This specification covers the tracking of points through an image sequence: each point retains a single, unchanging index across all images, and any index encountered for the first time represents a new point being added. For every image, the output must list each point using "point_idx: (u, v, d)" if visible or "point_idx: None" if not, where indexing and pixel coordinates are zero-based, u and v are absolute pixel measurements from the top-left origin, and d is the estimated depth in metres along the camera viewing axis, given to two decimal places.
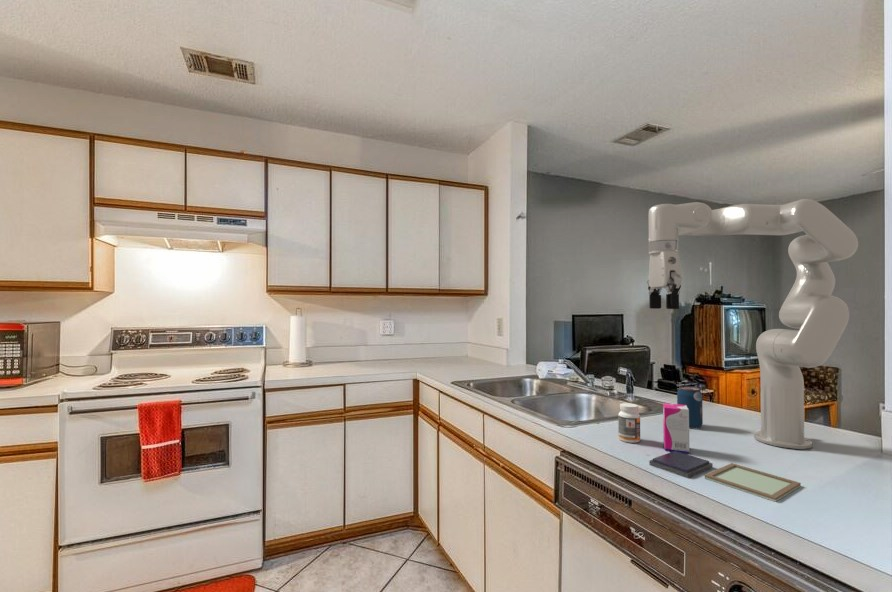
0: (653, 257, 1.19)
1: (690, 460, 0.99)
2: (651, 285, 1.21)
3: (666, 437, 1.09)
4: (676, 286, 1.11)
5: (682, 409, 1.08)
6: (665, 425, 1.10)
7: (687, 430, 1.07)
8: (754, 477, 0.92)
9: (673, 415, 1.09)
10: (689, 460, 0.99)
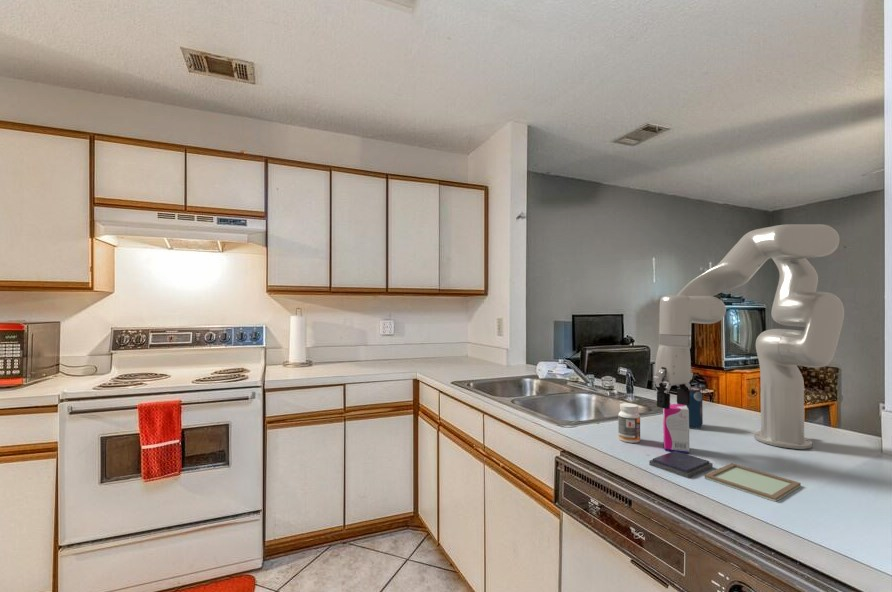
0: (682, 352, 1.09)
1: (690, 460, 0.99)
2: (675, 382, 1.08)
3: (666, 437, 1.09)
4: None
5: (682, 409, 1.08)
6: (665, 425, 1.10)
7: (687, 430, 1.07)
8: (754, 477, 0.92)
9: (673, 415, 1.09)
10: (689, 460, 0.99)
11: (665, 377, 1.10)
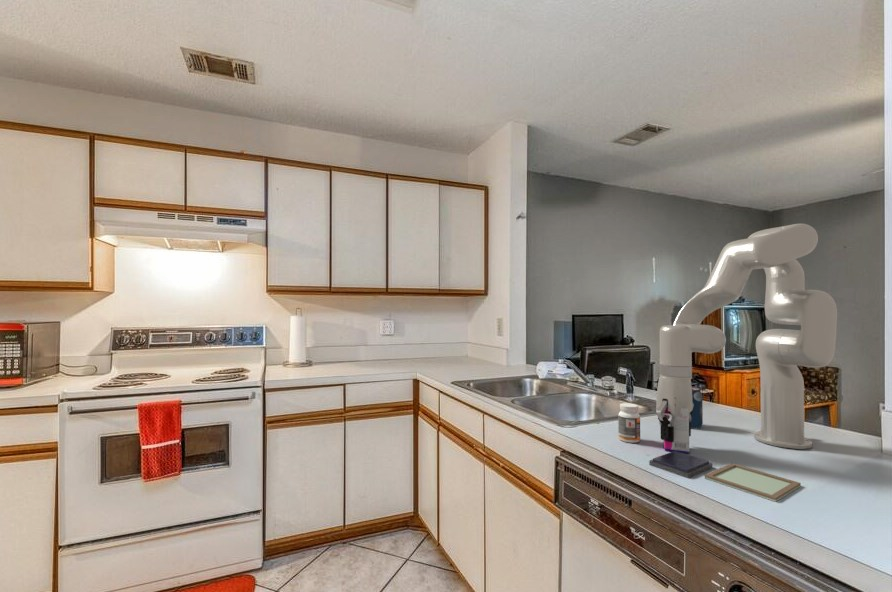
0: (683, 383, 1.09)
1: (690, 460, 0.99)
2: (677, 414, 1.08)
3: None
4: None
5: (682, 409, 1.08)
6: None
7: (687, 430, 1.07)
8: (754, 477, 0.92)
9: None
10: (689, 460, 0.99)
11: None
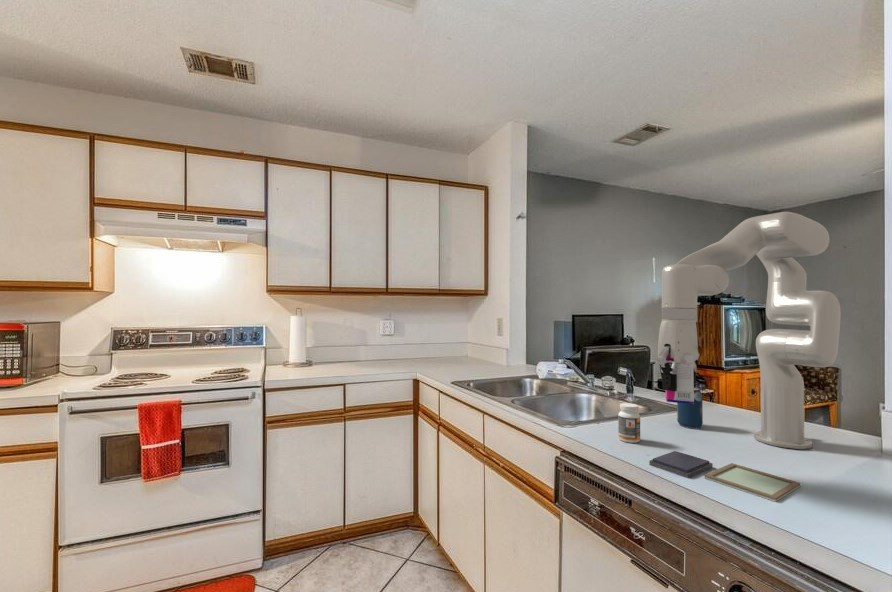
0: (688, 326, 0.98)
1: (690, 460, 0.99)
2: (681, 360, 0.98)
3: None
4: None
5: (686, 355, 0.98)
6: None
7: (691, 378, 0.97)
8: (754, 477, 0.92)
9: None
10: (689, 460, 0.99)
11: None
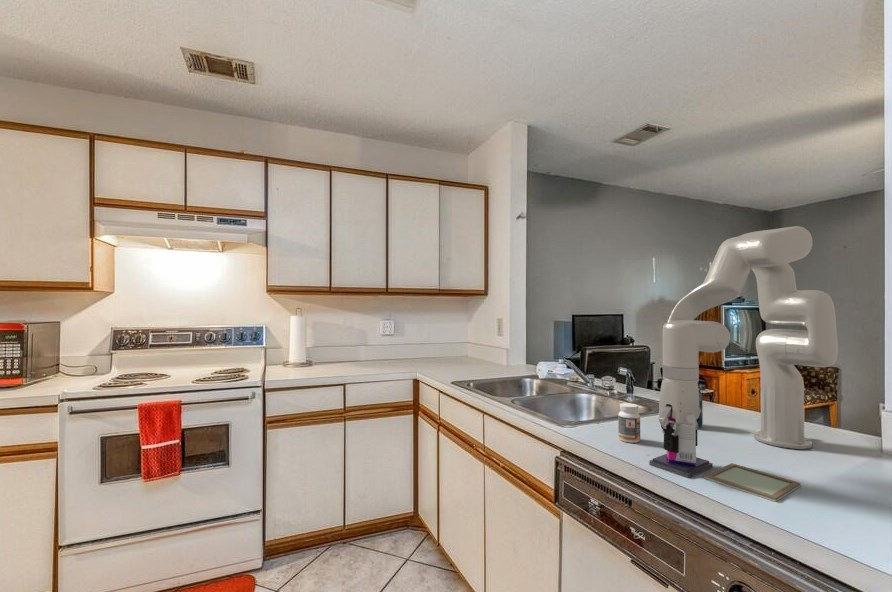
0: (689, 386, 0.97)
1: None
2: (683, 421, 0.96)
3: None
4: None
5: (688, 415, 0.96)
6: None
7: (693, 439, 0.96)
8: (754, 477, 0.92)
9: None
10: None
11: None
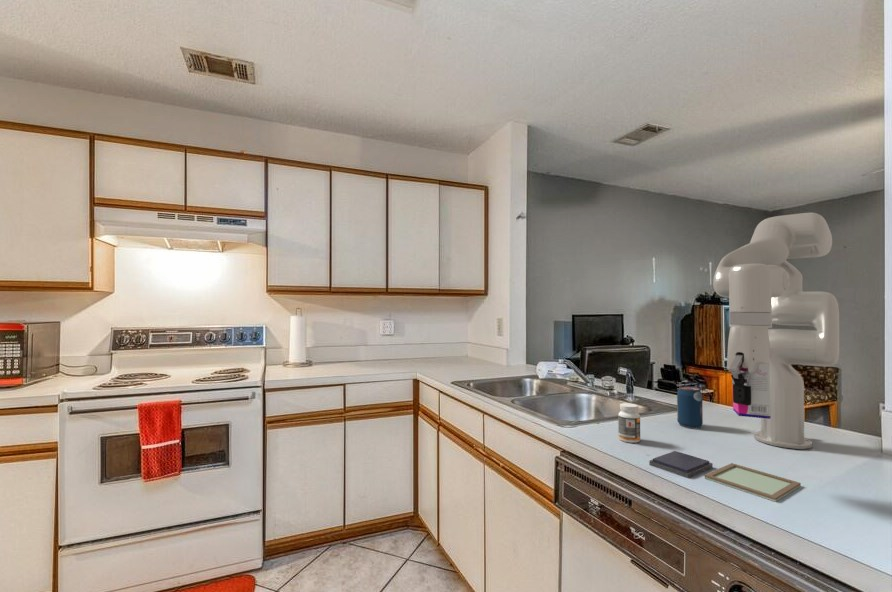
0: (762, 333, 0.88)
1: (690, 460, 0.99)
2: (755, 370, 0.87)
3: None
4: None
5: (760, 364, 0.88)
6: None
7: (767, 390, 0.87)
8: (754, 477, 0.92)
9: None
10: (689, 460, 0.99)
11: (741, 364, 0.89)
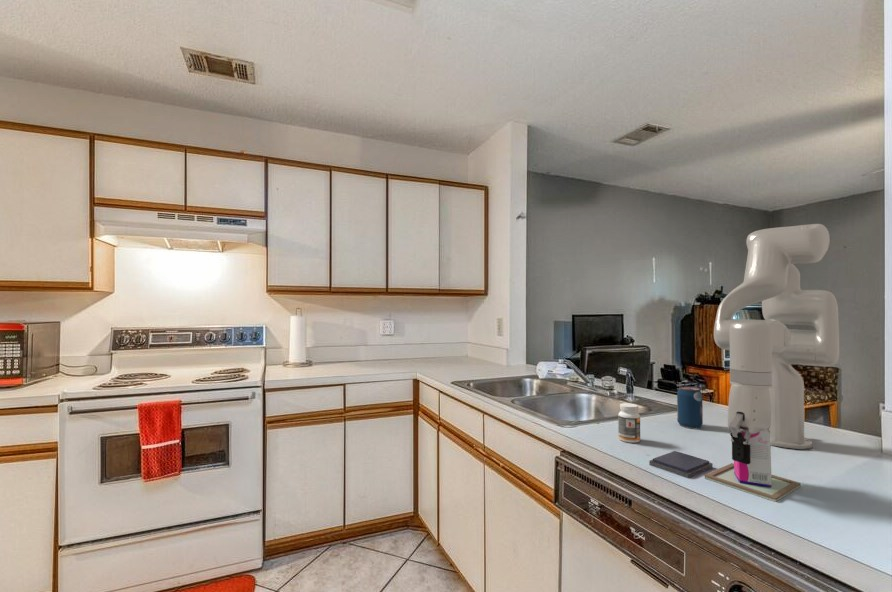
0: (763, 392, 0.88)
1: (690, 460, 0.99)
2: (756, 430, 0.87)
3: (741, 466, 0.89)
4: None
5: (761, 432, 0.88)
6: None
7: (768, 458, 0.87)
8: None
9: (750, 439, 0.88)
10: (689, 460, 0.99)
11: (741, 423, 0.89)
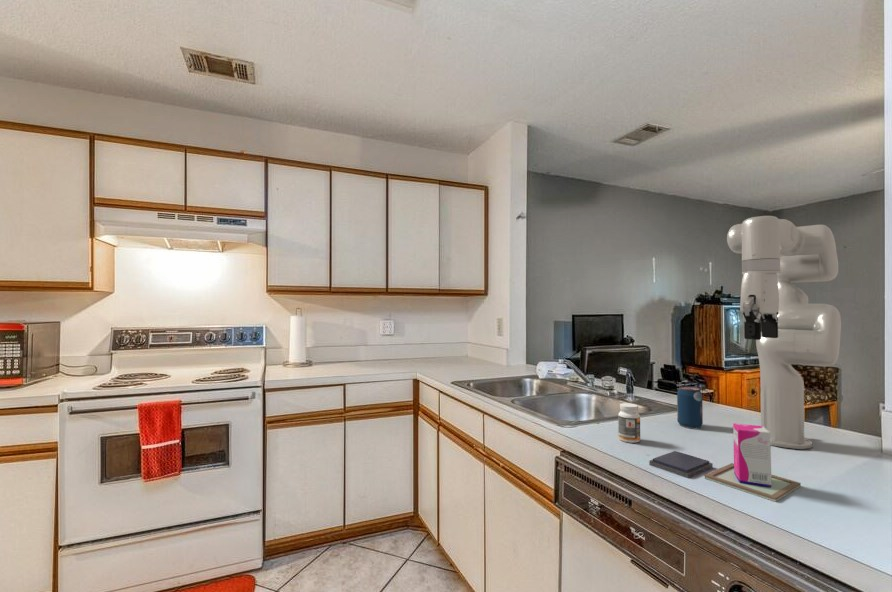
0: (772, 277, 0.99)
1: (690, 460, 0.99)
2: (766, 311, 0.98)
3: (741, 466, 0.89)
4: None
5: (761, 432, 0.88)
6: (739, 451, 0.89)
7: (768, 458, 0.87)
8: None
9: (750, 439, 0.88)
10: (689, 460, 0.99)
11: (753, 306, 1.00)
